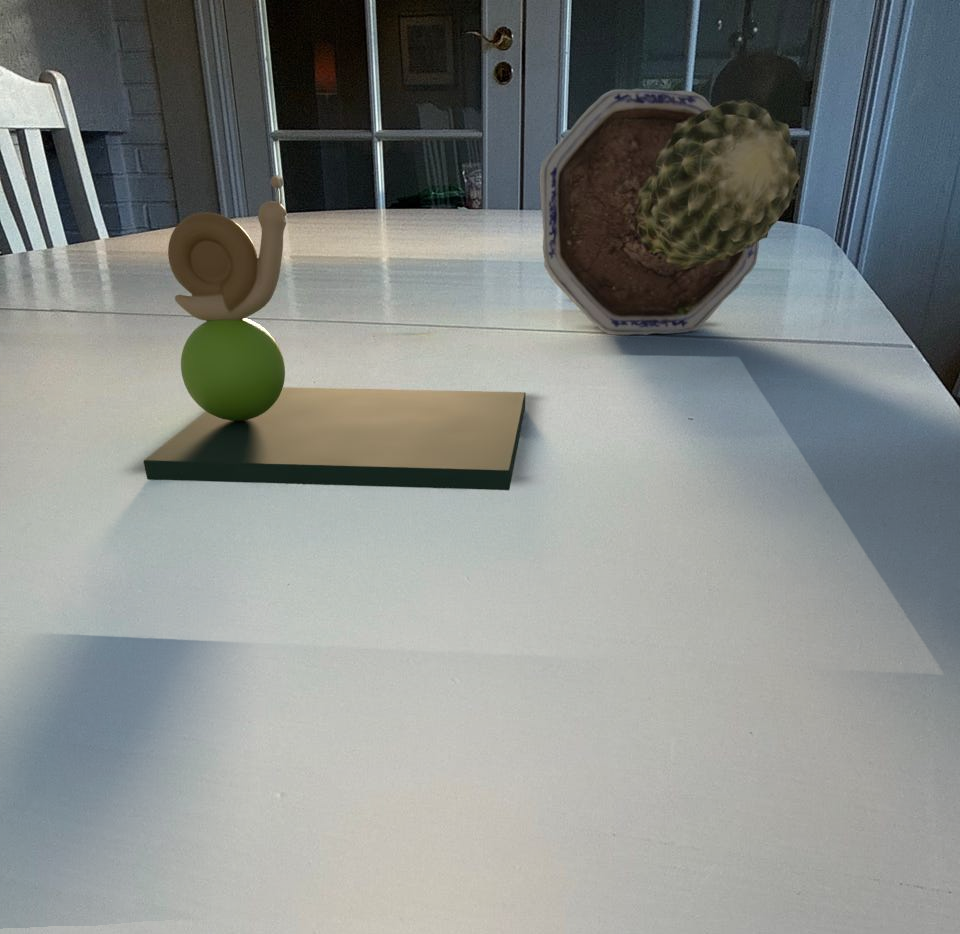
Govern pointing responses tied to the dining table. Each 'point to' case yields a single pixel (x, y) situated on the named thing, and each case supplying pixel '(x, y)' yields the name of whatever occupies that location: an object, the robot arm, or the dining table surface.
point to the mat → (355, 441)
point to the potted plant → (662, 206)
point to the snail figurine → (230, 310)
